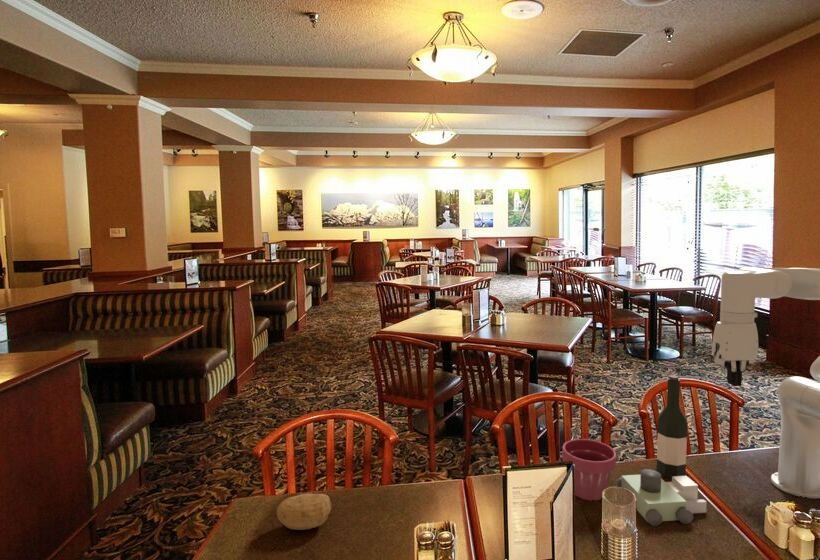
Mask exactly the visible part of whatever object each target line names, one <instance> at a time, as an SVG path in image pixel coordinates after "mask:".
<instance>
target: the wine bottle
mask: <svg viewBox="0 0 820 560" xmlns="http://www.w3.org/2000/svg"><path fill="white" fill-rule="evenodd" d="M680 383H681V379H680V378H679V376H678V375H674V374H671V375H669V377H667V391H666V393H667V396H666V399H667V400H666V405H665V407H664V408H663V409H662V410H661V412H660V413H659V414H658V416H657V438H656V439H657V443H656V444H657V445H656V449H657V450H656V471H657V472H659V473H660V474H661V476H662V477H664V478H669V479H672V477H674V476H687V475H686V472H687V468H686V467H687V449H688V448H687V444H688V419H687V417H686V416H685V414H684V412H683V410H682V409H681V407H680V392H681V391H680V388H681V385H680Z"/></svg>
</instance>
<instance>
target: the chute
mask: <svg viewBox="0 0 820 560" xmlns="http://www.w3.org/2000/svg"><path fill="white" fill-rule="evenodd" d="M665 482H666V483H667V484H668V485H669V486H670V487H671V488H672V489H673V490H675V491H676V492H677V493H678V494H679V495H680V496H681V497H682V498H683V499H684V500H698V494H699V493H698V492H699V485H698V484H697V483H695V481H693V480H692V479H691V478H690V477H689V476H687V475H686V476H674V477H672V478H671V481H665Z"/></svg>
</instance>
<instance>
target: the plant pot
mask: <svg viewBox="0 0 820 560" xmlns="http://www.w3.org/2000/svg"><path fill="white" fill-rule="evenodd" d="M561 453H562V455H561V458H562V461H563V463H564V462H565V461H572V462H573V463H574V464H575V494H574V495H575V496H576V497H577V498H580V499H582V500H587V501H592V500H594V501H600V500H601V495H602V491H603V490H604V489H606V488H607V489H608V487H609V482H610V479H611V475H612V472H613V471H614V470H615V469H616V466H617V452H616V451H615V449H614V448H612V447H611V446H609V445H608V444H606V443H603V442H601V441H598V440H595V439H587V438H578V439H577V438H576V439H575V438H574V439H569V440H568V441H565V442H564V443H563V444H562V451H561ZM607 489H606V490H607Z"/></svg>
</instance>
